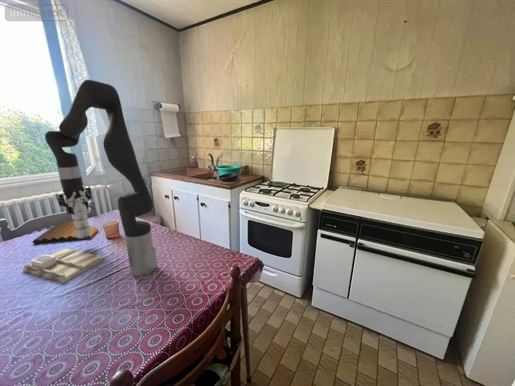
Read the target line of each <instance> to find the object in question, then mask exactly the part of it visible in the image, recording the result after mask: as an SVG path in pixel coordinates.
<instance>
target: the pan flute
mask: <svg viewBox="0 0 515 386" xmlns="http://www.w3.org/2000/svg"><path fill="white" fill-rule="evenodd" d="M89 226H90V228H91V230H92V233H91V235H90V236H89V237H86V238H77V237H76V236H75V227H74V221H70V220H65V219H61V220H60V221H58V222H57V223H56V224H55V225H53V226H52V227H50V228H49V229H48V230H46V231H44V232H43V233H42V234H40V235H39V236H37V237H36V238H35V239H33V240H32V241H31V242H32V243H33V245H39V244H41V245H42V244H49V243H52V244H53V243H58V242H60V243H61V242H67V241H68V242H72V241H75V240H76V241H82V240H90V239H92V237H93V236H95V234H96V233H97V232H98V230H99V228H98V227H96V226H92V225H89Z"/></svg>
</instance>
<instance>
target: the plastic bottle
mask: <svg viewBox="0 0 515 386" xmlns="http://www.w3.org/2000/svg"><path fill="white" fill-rule="evenodd" d="M82 202H83V201H82V200H81V197H79V198H75V199H74V200H73V202H72V204H71V206H72V210H73V214H70V215H71V218H72V222H74V227H75V236H76V237H77V238H83V239H84V238H86V237H89V236H90V235H91V233H92V230H91V228H90V226H91V225H90V223H89V220H88V213H87V212H88V211H87V210H88V209H87V208H86V206H85V205H84V204H83V203H82Z"/></svg>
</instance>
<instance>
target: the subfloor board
mask: <svg viewBox="0 0 515 386" xmlns="http://www.w3.org/2000/svg"><path fill="white" fill-rule="evenodd" d="M50 255H51V256H55V258H56V262H57V263H55V264H53V265H51V266H49V267H47V268H45V269H42V268H39V267H35V266H32V264H31V263H30V264H27V263H24V264H23V267H21V268H22V271H23V272H25V273H30V274H33V275H35V276H39V277H42V278H46V279H50V280H54V281H57V282H60V283H63V284H64V283H66V282H68V281H70V280H71V279H73V278H75V277H76V276H78V275H80V274H81V273H84V272H85V271H86V270H88V269H90V268H92V267H93V266H95V265H97V264H98V263H100V262H102V261H104V257H103V256H101V255H96V254H93V253H88V252H84V251H83V252H82V251H78V250H74V249H72V248H62V249H61V250H58V251H56V252H53V253H52V254H50Z"/></svg>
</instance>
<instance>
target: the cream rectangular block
mask: <svg viewBox="0 0 515 386" xmlns="http://www.w3.org/2000/svg"><path fill="white" fill-rule="evenodd" d="M55 263H57V262H56V258H55V256H51V254H46V253H44V254H42V255H40V256H37V257H36V258H33V259H30V264H32V266H35V267H39V268H42V269H45V268H47V267H49V266H51V265H53V264H55Z"/></svg>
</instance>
